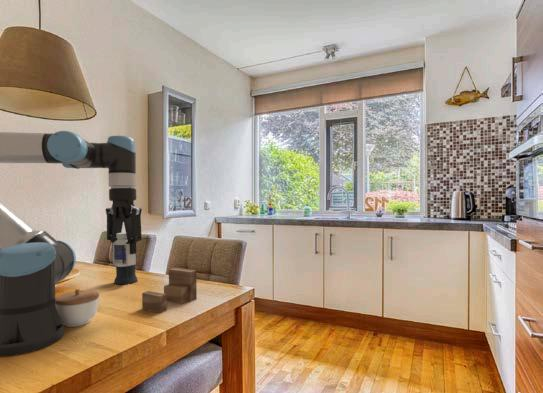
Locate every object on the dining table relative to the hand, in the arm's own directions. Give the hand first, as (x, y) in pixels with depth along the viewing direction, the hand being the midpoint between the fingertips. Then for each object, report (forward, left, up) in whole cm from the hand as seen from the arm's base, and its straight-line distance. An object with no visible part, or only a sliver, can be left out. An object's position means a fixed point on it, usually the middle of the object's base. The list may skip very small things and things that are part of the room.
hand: (124, 264), depth 96 cm
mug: (+24, +31, -15) cm, 42 cm away
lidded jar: (-11, +6, -15) cm, 20 cm away
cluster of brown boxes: (+13, -5, -15) cm, 21 cm away
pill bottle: (0, 0, -1) cm, 1 cm away
